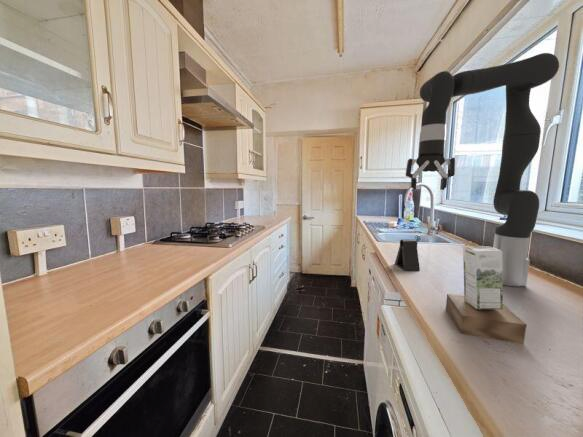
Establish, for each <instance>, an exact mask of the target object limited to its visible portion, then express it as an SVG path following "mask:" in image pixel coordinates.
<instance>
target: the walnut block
mask: <svg viewBox="0 0 583 437" xmlns="http://www.w3.org/2000/svg"><path fill="white" fill-rule="evenodd" d="M445 304H446V305H445V310H446V312H447V313H448V315H449V316H450V318H451V320H452V322H453V323H454V325H455V326H456V328H457V330H458V331H459V333H460V334H464V335H469V336H474V337H481V338H487V339H491V340H492V339H493V340H499V341H505V342H510V343H515V344H517V343H518V344H523V345H524V344H525V337H526V329H527V324H526V323H525V322H524V321H523V320H522V319H521V318H520V317H518V316H517V315H516V314H515V313H514V312H513V311H511V309H509V308H508V307H507V306H506V305H505V304H504V303H503V309H476V308H475V307H473V306H472V305H470V304H469V303H467V302H466V301H465V300H464V295H461V294H453V293H447V294H446V302H445Z"/></svg>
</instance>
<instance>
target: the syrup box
mask: <svg viewBox="0 0 583 437" xmlns="http://www.w3.org/2000/svg"><path fill="white" fill-rule="evenodd" d="M462 253H463V254H462V256H463V257H462V258H463V260H462V261H463V294H464V295H463V296H464V300H465V301H466V302H467V303H469V304H470V305H472V306H473V307H475V308H476V309H503V304H504V294H503V292H504V290H503V286H504V285H503V276H502V251H501V250H499V249H496V248H494V247H493V246H487V245H486V246H465V247H463V248H462Z"/></svg>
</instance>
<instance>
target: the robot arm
mask: <svg viewBox="0 0 583 437" xmlns="http://www.w3.org/2000/svg"><path fill="white" fill-rule="evenodd" d="M559 67H560V62H559V59H558V57H557V56H556V55H555V54H553V53H549V52H542V53H538V54H536V55H533V56H530V57H528V58H524V59H520V60H517V61H512V62H510V63H509V62H508V63H505V64H501V65H496V66H491V67H490V66H489V67H483V68H477V69H471V70H464V71H460V72H457V73H455V74H454V75H453V74H452V73H451V72H450V71H446V70H443V71H440V72H437V73H436V74H435V75H433V76H432V77H431V78H429V79H428V80H426V81H425V82H424V83H423V84H422V86H421V87H420V90H419V96H420V98H421V100H422V101H424V102H425V103H428V105H427V106H426V108H424V110H423V112H422V114H421V124H420V126H421V127H420V133H419V139H418V142H419V143H418V155H417V158H416V159H414V158H408V159H407V163H406V168H405V177H407V178H410V188H411V189H412V190H415V191H416V190H417V183H418V182H417V179H418V178H417V177H418V176H419V175H420V174H421V173H422V172H425V173H426V172H433V173H434V172H437V174H438V175H439V176H440V177H441V178H440V185H439V186H440V187H439V190H441V191H442V190H443V191H444V190H445V189H447V185H448V179H449V178H451V177H454V176H455V173H456V172H455V170H456V157H450V158H445V146H446V140H447V113H448V109H449V106H450V105H451V100H452V98H455V97H461V96H468V95H475V94H480V93H484V92H486V91H490V90H495V89H497V88H500V87H505V116H504V117H505V118H504V129H503V139H502V145H501V146H502V147H501V158H500V167H499V173H498V179H497V183H496V186H495V192H494V194H493V195H494V196H493V208H494V210H495V211H496V212H497V213H498V214H500V215H503V216H506V220H505V222H504V223H502V224H499V225H497V226H495V231H494V238H493V246H492V247H494V248H496V249H499V250H501V251H502V276H503V286H509V287H527V284H528V283H527V282H528V274H529V268H530V262H531V261H530V259H529V258H528V254H529V248H530V247H529V246H530V240H531V234H532V232H533V231H534V229H535V227H536V223H537V219H538V215H539V214H538V213H539V208H540V200H539V199H540V198H539V195H538V194H537V193H536V192H534V191H532V190H529V189H521V182H522V177H523V175H524V173H525V171H526V170H527V168H528V166H529V165H530V164H531V162H532V161H533V160H534V157H535V156H536V154H537V153H538V150H539V148H540V147H539V146H540V140H541V132H542V131H541V126H540V123H539V121H538V120H537V118H536V116H535V115H534V114H533V112H532V110H531V108H530V96H531V95H530V94H531V92H532V91H531V89H534V88H537V87H540V86H542V85H544V84H546V83H547V82H549V81H551V80H552V79H553V78H554V77H555V76H556V75H557V73H558V71H559V70H560V69H559ZM445 163H446V166H447V173H446V171H445V169H444V168H443V165H444V164H445ZM415 164H417V166H418V168H417V169H415V171H414V172H413V173H412V168H413V166H414V165H415Z"/></svg>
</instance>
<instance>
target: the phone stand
mask: <svg viewBox="0 0 583 437" xmlns="http://www.w3.org/2000/svg"><path fill="white" fill-rule="evenodd" d="M419 261H420V260H419V253H418V240H417V239H400V240H399V247H398V251H397V255H396V258H395V262H394V265H395V266H397V267H399V268H400V269H402V270H403V271H405V272H420V269H421V268H420V262H419Z"/></svg>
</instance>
